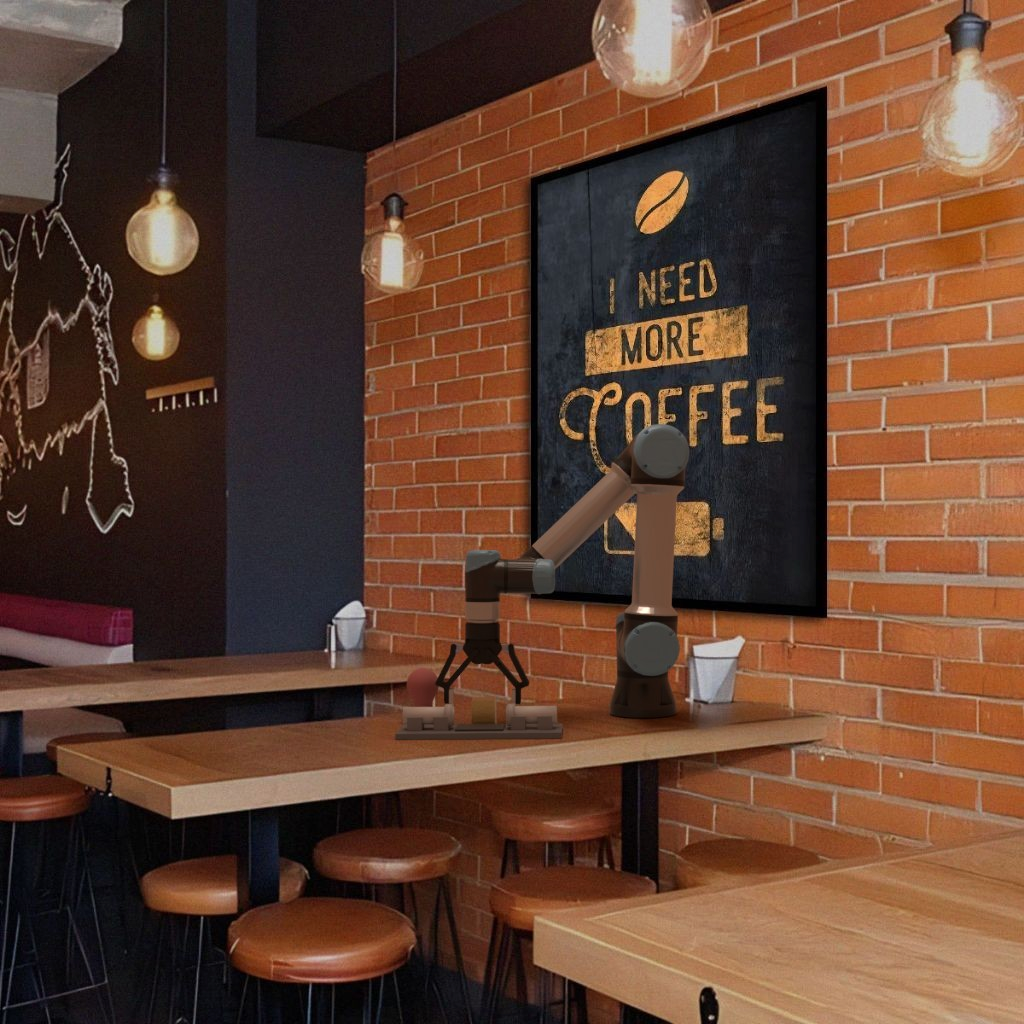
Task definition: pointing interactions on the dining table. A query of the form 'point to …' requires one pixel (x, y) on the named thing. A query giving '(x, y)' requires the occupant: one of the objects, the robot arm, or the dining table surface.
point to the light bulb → (422, 687)
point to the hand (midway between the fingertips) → (482, 719)
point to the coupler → (484, 710)
